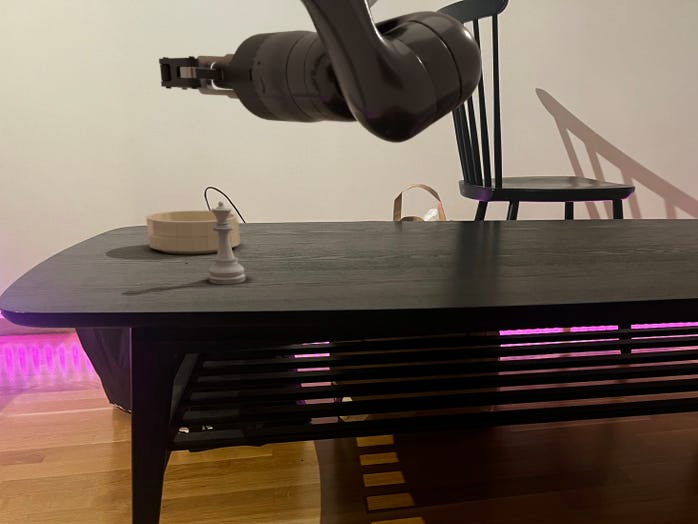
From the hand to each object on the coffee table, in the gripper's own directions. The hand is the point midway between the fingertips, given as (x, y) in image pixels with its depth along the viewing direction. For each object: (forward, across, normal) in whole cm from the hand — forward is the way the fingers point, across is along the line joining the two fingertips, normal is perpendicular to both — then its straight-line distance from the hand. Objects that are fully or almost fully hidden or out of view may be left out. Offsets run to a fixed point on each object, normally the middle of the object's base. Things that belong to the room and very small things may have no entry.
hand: (209, 78), depth 73 cm
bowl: (+33, -12, +24) cm, 42 cm away
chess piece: (+9, -5, +24) cm, 26 cm away
